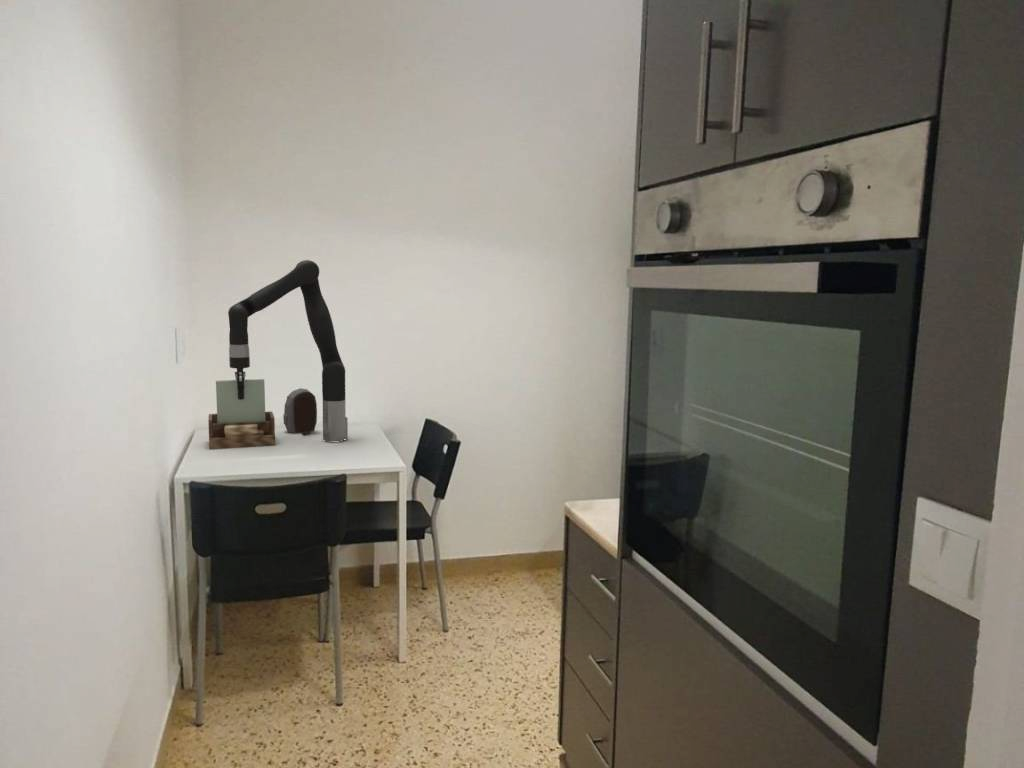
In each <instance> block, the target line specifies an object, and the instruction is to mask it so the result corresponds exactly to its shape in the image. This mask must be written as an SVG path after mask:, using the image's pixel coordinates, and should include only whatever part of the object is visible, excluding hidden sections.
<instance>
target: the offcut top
mask: <svg viewBox="0 0 1024 768" xmlns="http://www.w3.org/2000/svg"><path fill="white" fill-rule="evenodd" d="M224 430H225V434H246V433H257V432H258V429H257V424H248V425H225V428H224Z"/></svg>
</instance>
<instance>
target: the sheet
mask: <svg viewBox="0 0 1024 768" xmlns="http://www.w3.org/2000/svg"><path fill="white" fill-rule="evenodd" d="M239 386H243V385H239ZM244 387H245V388H244V399H242V400H239V399H238V389H237V384H236V379H230V380H229V379H227V380H225V379H224V380H215V392H216V395H215V396H216V397H215V398H216V414H217V423H239V422H261V421H266V419H265V412H266V392H265V391H266V389H265V388H266V387H265V379H264V378H260V379H259V378H257V379H256V378H255V379H245V384H244Z"/></svg>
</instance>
